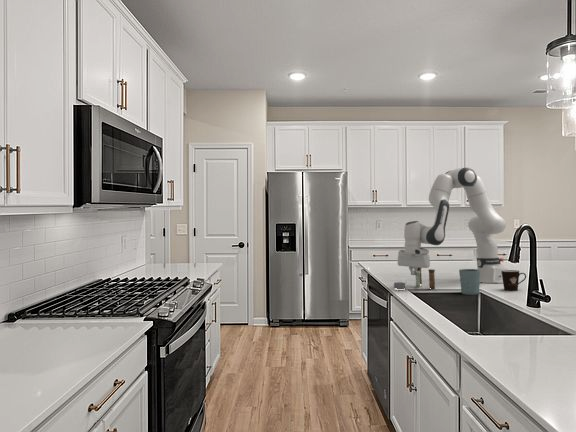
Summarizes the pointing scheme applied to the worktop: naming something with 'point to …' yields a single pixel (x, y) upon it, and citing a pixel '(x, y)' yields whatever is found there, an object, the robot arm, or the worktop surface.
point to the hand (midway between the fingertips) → (413, 274)
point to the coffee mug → (511, 279)
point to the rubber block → (399, 285)
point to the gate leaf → (417, 279)
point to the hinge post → (420, 274)
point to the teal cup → (469, 281)
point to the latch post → (431, 278)
